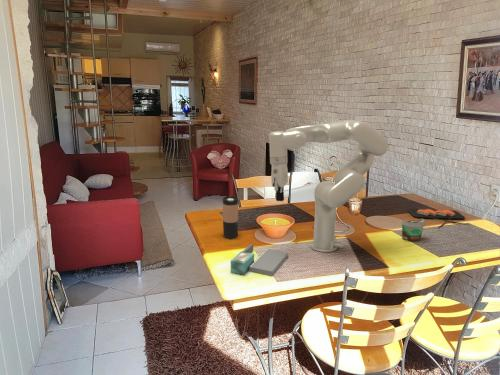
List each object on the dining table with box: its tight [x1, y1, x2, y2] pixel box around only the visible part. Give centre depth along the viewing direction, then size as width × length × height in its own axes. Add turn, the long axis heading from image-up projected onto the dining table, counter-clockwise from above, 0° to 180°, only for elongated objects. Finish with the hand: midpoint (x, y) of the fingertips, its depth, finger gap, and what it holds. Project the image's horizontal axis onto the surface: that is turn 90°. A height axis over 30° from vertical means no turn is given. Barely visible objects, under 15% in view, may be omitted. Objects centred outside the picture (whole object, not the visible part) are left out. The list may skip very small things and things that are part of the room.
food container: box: [400, 218, 426, 243], centre depth 187 cm, size 12×6×10 cm, turn 105°
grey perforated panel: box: [242, 243, 289, 277], centre depth 163 cm, size 18×20×3 cm
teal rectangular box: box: [230, 250, 255, 276], centre depth 157 cm, size 6×10×5 cm, turn 156°
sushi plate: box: [407, 208, 469, 229], centre depth 218 cm, size 29×30×4 cm
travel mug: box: [222, 195, 239, 240], centre depth 190 cm, size 8×8×20 cm
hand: (280, 200), depth 169 cm, fingers closed
